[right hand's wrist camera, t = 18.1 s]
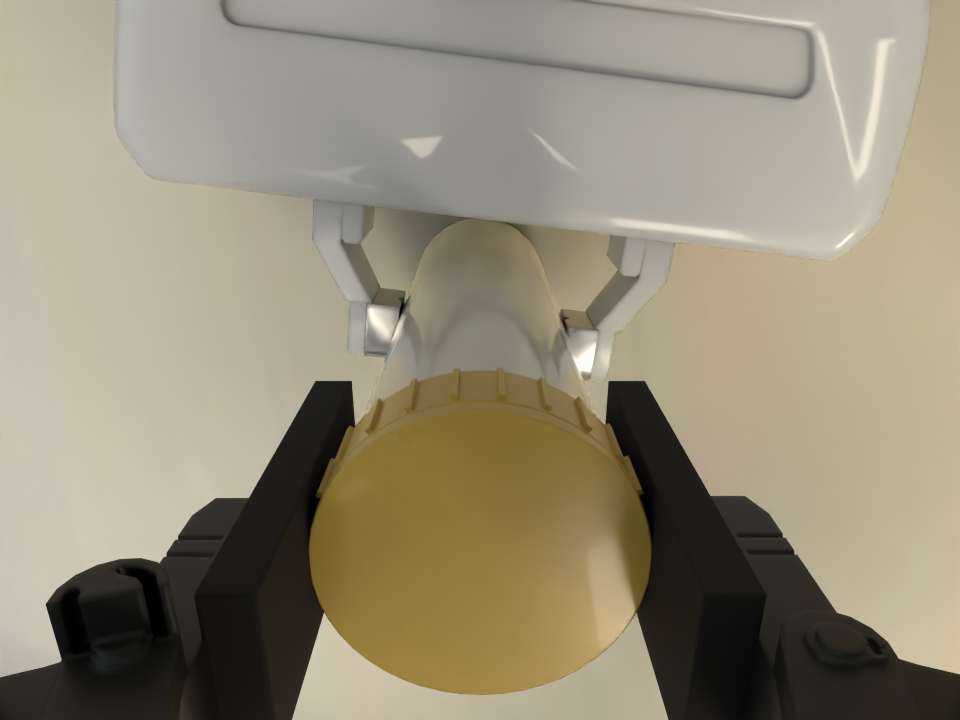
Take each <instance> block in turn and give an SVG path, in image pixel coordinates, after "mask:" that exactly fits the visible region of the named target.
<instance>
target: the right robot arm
mask: <svg viewBox="0 0 960 720" xmlns="http://www.w3.org/2000/svg"><path fill="white" fill-rule="evenodd" d="M608 423H609V424H610V426H611V427H612V429H613V432H614V434H615V437H616V439H617V442H618V444H619V447H620V449H621V452H622V454H623V456H624V457H625V456H629V458H630V461H631V463H632V466H633V468H634V471H635V473H636V476H637V478H638V480H639V483H640V485H641V488H642V490H643V493H644V494H642V495H640V496H639V497H640V499H641V502H642V504H643V507H644V510H645V513H646V516H647V520H648V523H649V526H650V533H651V540H652V555H651V565H650V573H649V581H648V585H647V588H646V591H645V594H644V597H643V600H642V602H641V604H640V606H639V608H638V610H637V616H638V619H639V622H640V626H641V629H642V632H643V636H644V639H645V642H646V646H647V649H648V652H649V656H650V659H651V662H652V666H653V669H654V672H655V676H656V679H657V682H658V686H659V689H660V692H661V696H662V699H663V702H664V706H665V709H666V712H667V716H668V719H669V720H960V674H955V673H951V672H947V671H942V670H938V669H934V668H930V667H925V666H921V665H917V664H914V663H910V662H907V661H904V660H901V659H898V657H897V655H896V654H895V652H894V651H893V649H892V648H891V646H890V644H889V643H888V642H887V641H886V640H885V639H884V638H882V637H881V636H880V635H879V634H878V633H877V632H875V631H874V630H873V629H872V628H870V627H868V626H867V625H865V624H863V623H861V622H859V621H857V620H855V619H853V618H851V617H849V616H846V615H842V614H839V613H837V612H836V611H835V609H834V608H833V606H832V605H831V604H830V602H829V601H828V599H827V598H826V596H825V595H824V593H823V592H822V590H821V589H820V587H819V586H818V585H817V583H816V582H815V580H814V579H813V577H812V576H811V574H810V573H809V571H808V570H807V569H806V567H805V566H804V564H803V563H802V561H801V560H800V558H799V557H798V555H795V554H794V550H793V548H792V547H791V545H790V544H789V542H788V541H787V539H786V538H783V534H782V532H781V531H780V529H779V528H778V526H777V525H776V523H775V522H774V520H773V519H772V518H771V516H770V515H769V513H767V512H766V511H765V510H763V509H762V508H760V507H759V506H758V505H756V504H755V503H754V502H752V501H751V500H749V499H748V498H747V497H745V496H710V495H709V493H708V491H707V489H706V488H705V486H704V484H703V482H702V481H701V479H700V477H699V475H698V474H697V472H696V470H695V468H694V467H693V465H692V463H691V461H690V460H689V458H688V456H687V454H686V453H685V451H684V449H683V447H682V446H681V444H680V442H679V440H678V439H677V437H676V435H675V433H674V432H673V430H672V428H671V426H670V424H669V423H668V421H667V419H666V417H665V416H664V414H663V412H662V410H661V409H660V407H659V405H658V403H657V402H656V400H655V398H654V396H653V395H652V393H651V391H650V389H649V388H648V386H647V384H646V382H645V381H609V385H608V398H607V411H606V424H608ZM349 426H351V427H353V428H354V427H355V419H354V406H353V392H352V381H315V383H314V385H313V387H312V388H311V390H310V392H309V394H308V395H307V397H306V399H305V401H304V402H303V404H302V406H301V408H300V410H299V411H298V413H297V415H296V417H295V418H294V420H293V422H292V424H291V425H290V427H289V429H288V431H287V432H286V434H285V436H284V438H283V439H282V441H281V443H280V445H279V446H278V448H277V450H276V452H275V453H274V455H273V457H272V459H271V460H270V462H269V464H268V466H267V467H266V469H265V471H264V473H263V474H262V476H261V478H260V480H259V481H258V483H257V485H256V487H255V488H254V490H253V492H252V494H251V495H250V497H249V498H216V499H214V500H213V501H212V502H210V503H209V504H207V505H206V506H205V507H203V508H202V509H201V510H199V511H198V512H196V513H195V514H194V515H192V516H191V518H190V519H189V521H188V522H187V524H186V525H185V527H184V528H183V530H182V531H181V533H180V534H179V536H178V540H175V541H174V543H173V544H172V546H171V547H170V549H169V550H168V552H167V556H166V557H164V558H163V559H162V561H161V562H160V563H158V562H154V561H150V560H146V559H142V558H135V559H119V560H115V561H111V562H107V563H104V564H100V565H96V566H94V567H92V568H90V569H88V570H86V571H84V572H81V573H79V574H77V575H75V576H74V577H72V578H71V579H70V580H68V581H67V582H66V583H64V584H63V585H62V586H60V587H59V588H58V589H57V590H56V591H55V592H54V594H53V595H52V596H51V598H50V599H49V600H48V602H47V603H46V607H47V610H48V614H49V617H50V621H51V624H52V627H53V631H54V634H55V638H56V641H57V645H58V648H59V652H60V655H61V658H62V660H61V662H59V663H56V664H53V665H49V666H46V667H43V668H38V669H34V670H30V671H26V672H21V673H17V674H13V675H9V676H4V677H0V720H292V717H293V714H294V710H295V707H296V704H297V700H298V697H299V694H300V690H301V687H302V684H303V680H304V677H305V674H306V670H307V667H308V664H309V660H310V657H311V654H312V650H313V647H314V644H315V640H316V637H317V634H318V631H319V627H320V624H321V621H322V617H323V614H324V611H323V609H322V607H321V605H320V603H319V601H318V598H317V595H316V592H315V590H314V587H313V584H312V577H311V569H310V559H309V550H308V544H309V535H310V528H311V525H312V521H313V517H314V514H315V510H316V508H317V505H318V503H319V500H320V498H317V497H316V494H317V491H318V489H319V486H320V484H321V482H322V479H323V477H324V474H325V472H326V469H327V467H328V464H329V462H330V460H331V458H332V459H335V458H336V456H337V453H338V451H339V448H340V446H341V443H342V440H343V438H344V435H345V433H346V430H347V429H348V427H349Z"/></svg>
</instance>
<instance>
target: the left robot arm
mask: <svg viewBox="0 0 960 720" xmlns="http://www.w3.org/2000/svg"><path fill="white" fill-rule="evenodd" d="M929 32H930V2H929V0H117V4H116V19H115V38H114V74H113V85H114V121H115V128H116V133H117V135H118V138H119V140H120V141H121V143H122V144H123V146H124V147H125V148H126V150H127V151H128V152H129V154H130V155H131V156H132V158H133V159H134V160H135V162H136V163H137V164H138V166H139V167H140V168H141V169H142V171H143V172H144V173H145V174H146V175H147V176H149V177H150V178H152V179H156V180H161V181H169V182H177V183H185V184H193V185H201V186H210V187H218V188H226V189H235V190H243V191H251V192H259V193H268V194H276V195H284V196H292V197H301V198H309V199H314V206H313V239H312V240H313V241H314V243H315V245H316V247H317V249H318V251H319V253H320V254H321V256H322V258H323V260H324V262H325V264H326V265H327V267H328V269H329V271H330V273H331V275H332V277H333V278H334V280H335V282H336V284H337V286H338V288H339V289H340V291H341V293H342V295H343V297H344V299H345V300H347V301H350V305H349V325H348V345H347V348H348V354H353V355H359V356H374V357H386V354H387V352H388V349H389V346H390V343H391V340H392V338H393V335H394V332H395V329H396V327H397V324H398V321H399V318H400V315H401V313H402V310H403V307H404V304H405V293H406V291H400V290H393V289H386V288H380V285H379V283H378V281H377V278H376V276H375V274H374V272H373V270H372V268H371V266H370V263H369V261H368V259H367V257H366V255H365V253H364V251H363V249H362V246H361V244H360V242H361V241H362V240H363V239H364V238H365V237H366V235H367V234H368V233H369V232H370V231H371V229H372V228H373V223H374V210H375V207H383V208H391V209H400V210H408V211H416V212H424V213H433V214H441V215H449V216H457V217H466V218H474V219H482V220H490V221H499V222H507V223H515V224H523V225H532V226H540V227H548V228H556V229H565V230H573V231H581V232H589V233H598V234H606V235H610V241H609V247H608V253H607V256H608V257H609V259H610V260H611V261H612V263H613V264H614V265H615V266H616V267H617V269H618V271H617V272H616V274H615V275H614V276H613V277H612V279H611V280H610V281H609V282H608V283H607V285H606V286H605V287H604V288H603V290H602V291H601V292H600V293H599V295H598V296H597V297H596V298H595V300H594V301H593V302H592V303H591V305H590V306H589V307H588V308H587V310H586V311H587V312H585V311H574V310H563V309H561V312H560V317H561V320H562V323H563V325H564V328H565V331H566V334H567V337H568V339H569V342H570V345H571V348H572V351H573V353H574V356H575V359H576V362H577V365H578V367H579V370H580V373H581V376H582V379H583V380H585V381H594V382H604V381H605V379H606V377H607V374H608V369H609V364H610V359H611V354H612V349H613V345H614V340H615V335H616V332H621V331H622V330H623V329H624V327H625V326H626V325H627V324H628V323H629V322H630V321H631V320H632V319H633V318H634V317H635V316H636V314H637V313H638V312H639V311H640V310H641V309H642V308H643V307H644V306H645V305H646V304H647V302H648V301H649V300H650V299H651V298H652V297H653V296H654V295H655V294H656V293H657V292H658V290H659V289H660V288H661V287H662V286H663V285H664V284H665V283H666V281H667V277H668V272H669V268H670V264H671V259H672V255H673V251H674V246H675V243H680V244H689V245H697V246H705V247H713V248H722V249H730V250H738V251H746V252H755V253H763V254H771V255H779V256H788V257H796V258H804V259H812V260H821V261H833V260H836V259H838V258H840V257H841V256H842V255H844V254H845V253H846V252H848V251H849V250H850V249H851V248H853V247H854V246H855V245H856V244H857V243H859V242H860V241H861V240H862V239H863V238H864V237H865V236H866V235H868V234H869V233H870V232H871V231H872V230H873V229H874V227H875V226H876V225H877V223H878V221H879V219H880V217H881V215H882V213H883V210H884V208H885V205H886V202H887V200H888V197H889V194H890V191H891V188H892V185H893V182H894V179H895V175H896V172H897V169H898V166H899V162H900V159H901V156H902V152H903V149H904V145H905V142H906V138H907V135H908V131H909V127H910V123H911V119H912V115H913V111H914V107H915V103H916V99H917V95H918V91H919V86H920V81H921V77H922V72H923V68H924V63H925V57H926V52H927V47H928V39H929Z"/></svg>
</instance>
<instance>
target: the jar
mask: <svg viewBox="0 0 960 720" xmlns="http://www.w3.org/2000/svg"><path fill="white" fill-rule="evenodd" d="M454 368H459V369H460V371H474V370H484V371H497V368H504V372H507V373H513V374H518V375H523V376H526V377H529V378H533V379H536V380H539V379H540V377H542V378H545V379H546V380H547V384H549V385H551V386H553V387H556V388H558V389H560V390H562V391H563V392H565V393H567V394H568V395H570V396H571V397H573V398H575V399H576V398H577V397H578V396H579V397H581V398H582V399H583V400H584V403H585V406H586V408H588V409H589V410H590V411H591V412H593V413H594V414H595V412H594V409H593V406H592V404H591V401H590V398H589V395H588V392H587V390H586V387H585V384H584V381H583V379H582V376H581V373H580V370H579V367H578V365H577V362H576V359H575V356H574V353H573V351H572V348H571V345H570V342H569V339H568V337H567V334H566V331H565V328H564V325H563V323H562V320H561V317H560V314H559V312H558V309H557V306H556V303H555V300H554V298H553V295H552V292H551V289H550V286H549V284H548V281H547V278H546V275H545V272H544V270H543V267H542V264H541V261H540V259H539V256H538V254H537V252H536V250H535V248H534V246H533V245H532V244H531V242H530V241H529V240H528V239H527V238H526V237H525V235H523V234H522V233H521V232H520V231H519V230H517V229H516V228H514V227H512V226H511V225H509V224H507V223H504V222H499V221H490V220H482V219H474V218H472V219H466V220H462V221H459V222H456V223H454V224H452V225H450V226H448V227H446V228H445V229H443V230H442V231H441V232H439V233H438V234H437V235H436V236H435V237H434V238H433V239H432V240H431V242H430V243H429V244H428V246H427V247H426V249H425V251H424V253H423V255H422V257H421V260H420V263H419V265H418V268H417V271H416V274H415V276H414V279H413V282H412V285H411V288H410V290H409V293H408V296H407V299H406V302H405V304H404V307H403V310H402V313H401V315H400V318H399V321H398V324H397V327H396V329H395V332H394V335H393V338H392V340H391V343H390V346H389V349H388V352H387V354H386V357H385V360H384V363H383V365H382V368H381V371H380V374H379V377H378V379H377V382H376V385H375V388H374V391H373V393H372V396H371V399H370V402H369V404H368V407H367V410H366V413H365V415H366V414H367V413H368V412H369V411H370V410H372V407H373V404H374V402H375V401H376V400H377V399H378V398H380V400H381V401H383V400H384V399H386V398H387V397H389V396H391V395H392V394H394V393H395V392H397V391H399V390H401V389H403V388H405V387H407V386H409V385H410V382H411V380H413V379H416V378H417V380H418V382H419V381H422V380H425V379H428V378H431V377H434V376H438V375H443V374H448V373H453V369H454ZM595 416H596V415H595Z"/></svg>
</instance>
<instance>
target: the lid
mask: <svg viewBox="0 0 960 720" xmlns="http://www.w3.org/2000/svg"><path fill="white" fill-rule="evenodd" d="M642 494H644V493H643V490H642V488H641V485H640V483H639V480H638V478H637V476H636V473H635V471H634V468H633V466H632V463H631V461H630V458H629V456H625V457H624V456H623V454H622V452H621V449H620V447H619V444H618V442H617V439H616V437H615V434H614V432H613V429H612V427H611V426H610V424H609V423H608V424H606V425H604V424H603V423H602V422H601V421H600V420H599V419H598V418H597V417H596V416H595V414H594V413H593V412H591V411H590V410H589V409H588V408H586V406H585V403H584V400H583V399H582V398H581V397H579V396H578V397H577V398H576V399H575V398H573V397H571V396H570V395H568V394H567V393H565V392H563V391H562V390H560V389H558V388H556V387H553V386H551V385H549V384H547V380H546V379H545V378H542V377H540V379H539V380H536V379H533V378H529V377H526V376H523V375H518V374H513V373H507V372H504V368H497V371H484V370H474V371H460V369H459V368H454V369H453V373H448V374H443V375H438V376H434V377H431V378H428V379H425V380H422V381H419V382H418V380H417V378H416V379H413V380H411V382H410V385H409V386H407V387H405V388H403V389H401V390H399V391H397V392H395V393H394V394H392V395H391V396H389V397H387V398H386V399H384V400H383V401H381V400H380V398H378V399H377V400H376V401H375V402H374V404H373V407H372V410H370V411H369V412H368V413H367V414H366V415H365V416H364V417H363V418H362V419H361V420H360V421H359V423H358V424H357V425H356V426H355V427H354V428H353V427H351V426H349V427H348V429H347V430H346V433H345V435H344V438H343V440H342V443H341V446H340V448H339V451H338V453H337V456H336V458H335V459H332V458H331V460H330V462H329V464H328V467H327V469H326V472H325V474H324V477H323V479H322V482H321V484H320V486H319V489H318V491H317V494H316V497H317V498H320V500H319V503H318V505H317V508H316V510H315V514H314V517H313V521H312V525H311V528H310V535H309V544H308V550H309V559H310V569H311V577H312V584H313V587H314V590H315V592H316V595H317V598H318V601H319V603H320V605H321V607H322V609H323V611H324V612H325V614H326V616H327V618H328V620H329V621H330V622H331V624H332V625H333V626H334V628H335V629H336V630H337V632H338V633H339V634H340V635H341V636H342V637H343V639H344V640H345V641H346V642H347V643H348V644H349V645H350V646H351V647H352V648H353V649H355V650H356V651H357V652H358V653H359V654H361V655H362V656H363V657H364V658H366V659H367V660H368V661H370V662H371V663H373V664H375V665H376V666H378V667H379V668H381V669H383V670H384V671H386V672H388V673H390V674H392V675H394V676H396V677H399V678H401V679H403V680H406V681H408V682H411V683H414V684H417V685H420V686H423V687H427V688H431V689H435V690H439V691H444V692H452V693H459V694H476V695H486V694H503V693H509V692H516V691H522V690H526V689H530V688H534V687H537V686H541V685H544V684H547V683H550V682H552V681H555V680H557V679H560V678H562V677H564V676H566V675H568V674H570V673H572V672H574V671H576V670H578V669H580V668H581V667H583V666H584V665H586V664H587V663H589V662H591V661H592V660H594V659H595V658H596V657H598V656H599V655H600V654H601V653H602V652H603V651H605V650H606V649H607V648H608V647H609V646H610V645H611V644H612V643H613V642H614V641H615V640H616V639H617V638H618V637H619V636H620V635H621V634H622V633H623V631H624V630H625V628H626V627H627V626H628V624H629V623H630V621H631V620H632V619H633V617H634V615H635V613H636V612H637V610H638V608H639V606H640V604H641V602H642V600H643V597H644V594H645V591H646V588H647V585H648V581H649V573H650V565H651V555H652V540H651V533H650V526H649V523H648V520H647V516H646V513H645V510H644V507H643V504H642V502H641V499H640V497H639V496H640V495H642Z"/></svg>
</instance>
